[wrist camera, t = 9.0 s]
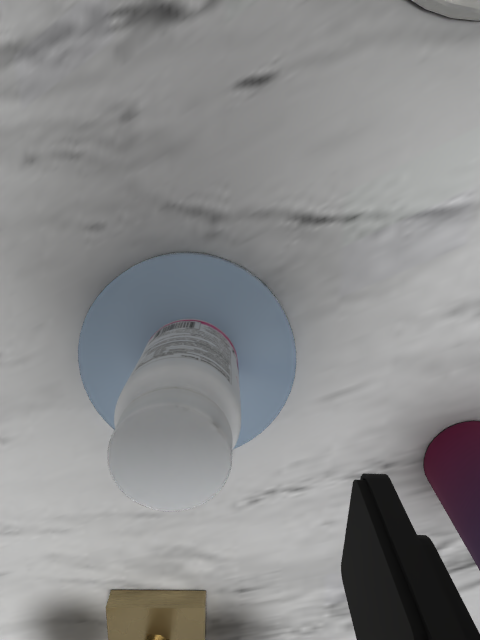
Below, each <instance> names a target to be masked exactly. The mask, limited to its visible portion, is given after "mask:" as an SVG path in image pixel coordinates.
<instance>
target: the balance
mask: <svg viewBox="0 0 480 640" xmlns="http://www.w3.org/2000/svg"><path fill="white" fill-rule="evenodd" d="M106 616H107V629H108V640H205V635H206V591H171V590H111V592H110V596H109V599H108V602H107V606H106Z"/></svg>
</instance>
